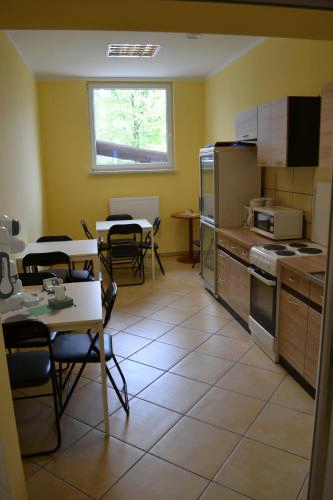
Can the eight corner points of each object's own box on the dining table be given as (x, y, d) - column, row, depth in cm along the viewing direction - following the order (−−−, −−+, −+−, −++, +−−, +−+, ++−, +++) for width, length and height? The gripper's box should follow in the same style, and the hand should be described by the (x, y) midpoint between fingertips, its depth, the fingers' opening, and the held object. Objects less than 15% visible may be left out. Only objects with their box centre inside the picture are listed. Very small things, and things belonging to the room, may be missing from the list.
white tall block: (56, 304, 247) (53, 280, 244) (62, 302, 250) (60, 278, 247) (59, 306, 244) (56, 281, 241) (65, 304, 247) (63, 279, 243)
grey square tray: (48, 304, 248) (47, 299, 247) (65, 300, 255) (64, 294, 254) (56, 309, 239) (55, 303, 239) (73, 304, 246) (73, 299, 246)
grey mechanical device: (66, 278, 274) (49, 281, 268) (67, 291, 276) (51, 295, 270) (56, 272, 288) (41, 276, 282) (58, 285, 291) (42, 289, 284)
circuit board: (25, 311, 241) (25, 310, 240) (65, 300, 257) (65, 299, 257) (35, 318, 230) (35, 316, 229) (76, 306, 246) (76, 304, 246)
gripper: (23, 301, 221) (47, 295, 229) (10, 293, 236) (32, 287, 245) (25, 312, 222) (48, 305, 231) (11, 303, 237) (34, 297, 246)
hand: (40, 296), depth 238 cm, fingers open, 8 cm apart
